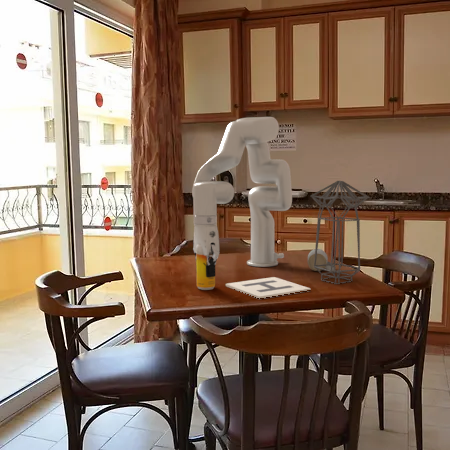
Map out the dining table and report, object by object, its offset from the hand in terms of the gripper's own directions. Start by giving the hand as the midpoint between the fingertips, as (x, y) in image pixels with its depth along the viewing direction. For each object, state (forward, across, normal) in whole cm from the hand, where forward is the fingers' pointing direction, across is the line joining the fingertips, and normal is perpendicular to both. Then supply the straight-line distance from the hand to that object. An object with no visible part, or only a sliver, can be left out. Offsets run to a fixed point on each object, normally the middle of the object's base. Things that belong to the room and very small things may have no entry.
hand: (205, 274), depth 173 cm
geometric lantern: (+5, -14, -45) cm, 47 cm away
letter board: (+5, -11, -17) cm, 21 cm away
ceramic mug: (+5, +3, -52) cm, 52 cm away
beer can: (+5, 0, 0) cm, 5 cm away
